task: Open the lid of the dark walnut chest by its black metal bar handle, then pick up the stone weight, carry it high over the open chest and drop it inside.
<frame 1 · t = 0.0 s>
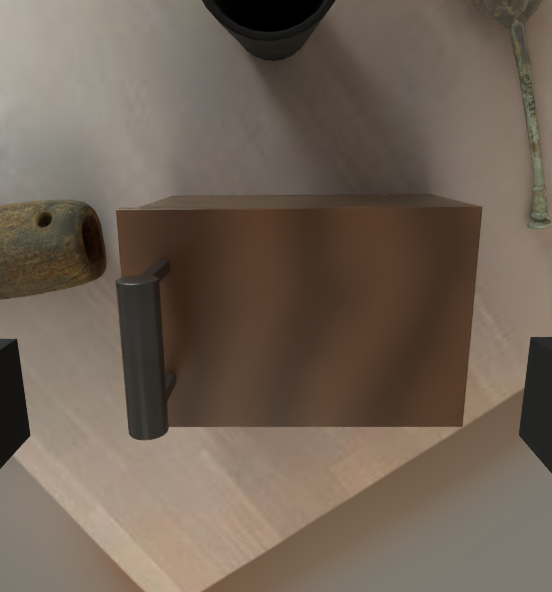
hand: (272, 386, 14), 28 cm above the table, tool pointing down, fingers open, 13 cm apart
chest: (300, 282, 42), on the table
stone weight: (19, 246, 41), on the table
lid: (299, 339, 29), point 13 cm above the table, hinge at 0.0°
cup: (272, 18, 37), on the table
soupspoon: (510, 77, 38), on the table
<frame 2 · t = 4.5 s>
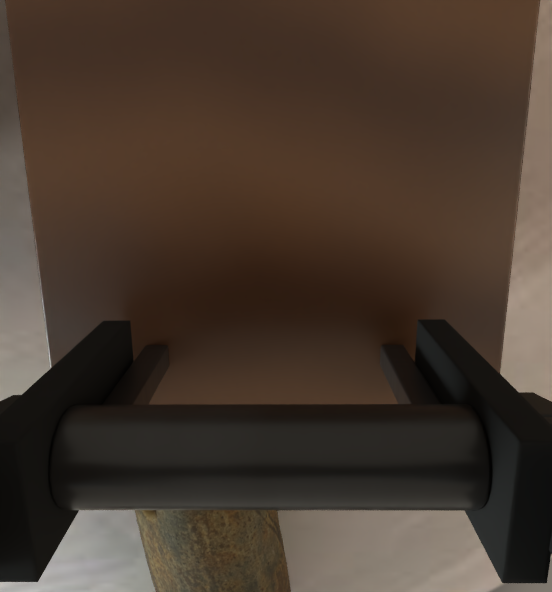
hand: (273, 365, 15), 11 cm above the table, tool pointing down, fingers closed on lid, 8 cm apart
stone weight: (225, 514, 30), on the table
lid: (269, 54, 11), point 13 cm above the table, hinge at 0.0°, touching gripper
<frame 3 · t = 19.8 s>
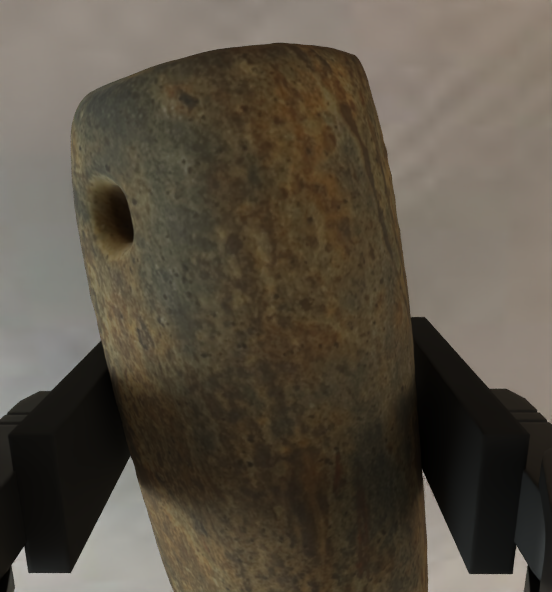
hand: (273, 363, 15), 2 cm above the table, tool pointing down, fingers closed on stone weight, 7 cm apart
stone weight: (274, 356, 16), point 2 cm above the table, touching gripper
when the fingers open (10 cm above the table, at t = 27.4 s): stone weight drops 9 cm, resting on chest.
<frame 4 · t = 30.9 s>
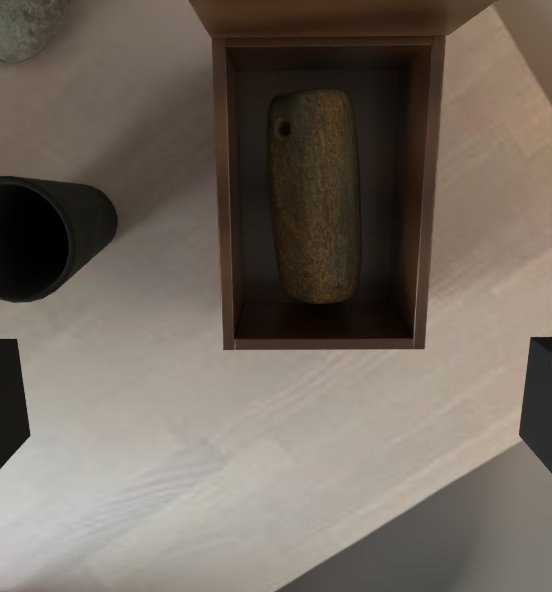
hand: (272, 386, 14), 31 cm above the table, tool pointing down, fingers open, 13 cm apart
chest: (316, 192, 42), on the table
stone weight: (312, 196, 42), point 1 cm above the table, touching chest
cup: (84, 218, 43), on the table
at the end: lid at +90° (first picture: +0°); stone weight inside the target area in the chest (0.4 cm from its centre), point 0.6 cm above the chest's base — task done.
